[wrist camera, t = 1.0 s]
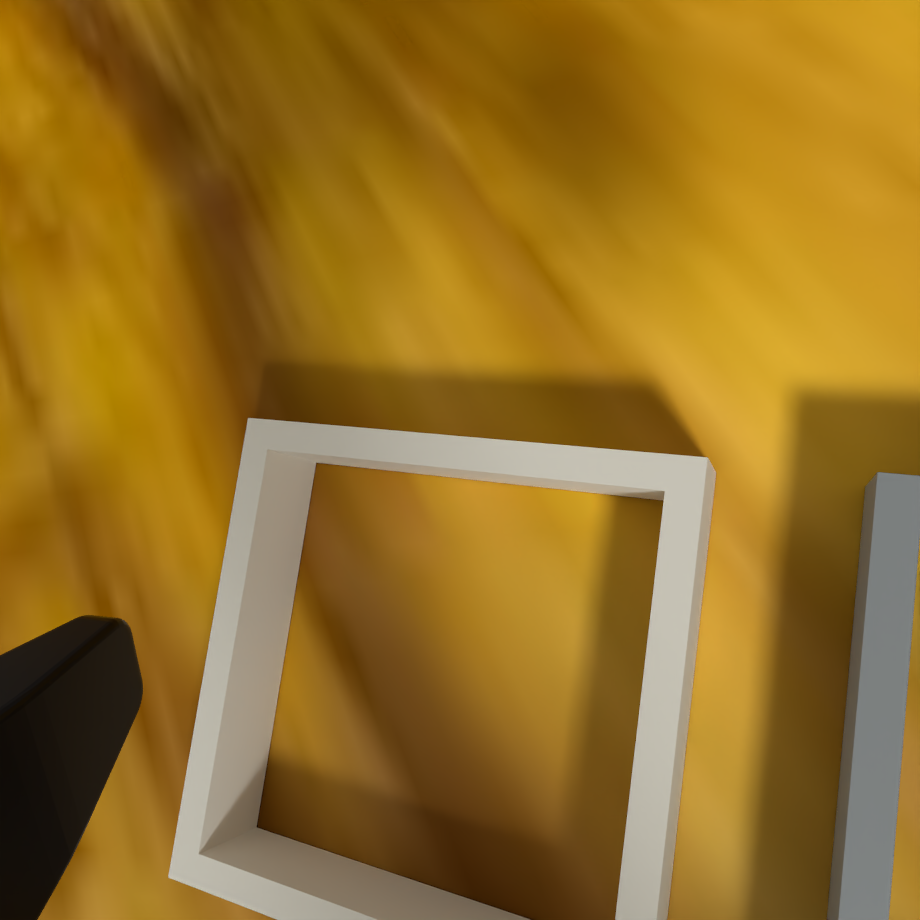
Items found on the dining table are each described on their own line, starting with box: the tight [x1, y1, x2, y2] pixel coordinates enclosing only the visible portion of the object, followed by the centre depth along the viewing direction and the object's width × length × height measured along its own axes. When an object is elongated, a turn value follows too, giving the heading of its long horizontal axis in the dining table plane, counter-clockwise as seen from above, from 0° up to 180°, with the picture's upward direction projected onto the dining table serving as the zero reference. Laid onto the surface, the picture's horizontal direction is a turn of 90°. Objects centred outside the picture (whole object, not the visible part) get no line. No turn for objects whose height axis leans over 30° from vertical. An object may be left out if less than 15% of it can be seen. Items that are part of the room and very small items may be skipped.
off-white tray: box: [168, 418, 716, 920], centre depth 24 cm, size 15×15×3 cm
